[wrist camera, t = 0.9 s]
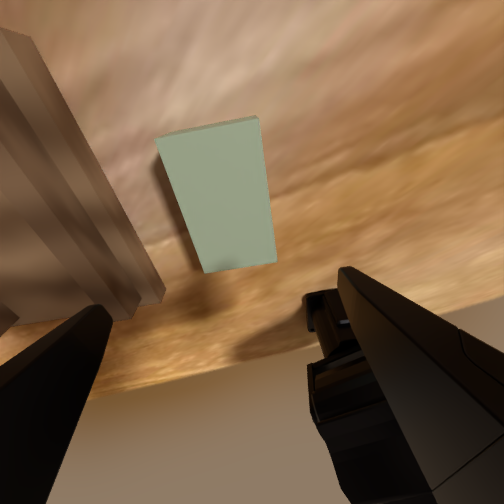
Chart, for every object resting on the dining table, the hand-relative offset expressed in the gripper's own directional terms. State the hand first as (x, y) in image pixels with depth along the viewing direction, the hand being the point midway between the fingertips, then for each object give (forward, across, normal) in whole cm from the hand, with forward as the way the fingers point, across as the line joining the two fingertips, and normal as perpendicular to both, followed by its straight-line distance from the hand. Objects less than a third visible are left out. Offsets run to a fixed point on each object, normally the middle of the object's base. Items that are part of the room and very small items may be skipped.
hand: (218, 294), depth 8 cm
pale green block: (+12, 0, 0) cm, 12 cm away
